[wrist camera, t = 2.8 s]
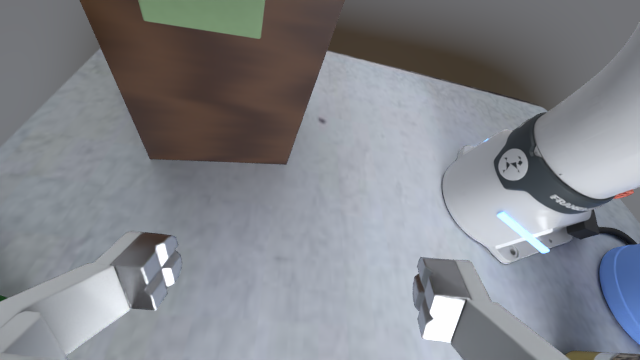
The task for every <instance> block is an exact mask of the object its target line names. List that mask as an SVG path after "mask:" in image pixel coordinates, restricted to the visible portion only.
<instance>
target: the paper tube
mask: <svg viewBox="0 0 640 360" xmlns="http://www.w3.org/2000/svg"><path fill="white" fill-rule="evenodd" d="M565 356H566V357H568V358H569V359H570V360H640V354H627V353H609V352H587V351H571V352H569V353H567V354H566V355H565Z"/></svg>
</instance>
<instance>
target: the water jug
mask: <svg viewBox="0 0 640 360" xmlns="http://www.w3.org/2000/svg"><path fill="white" fill-rule="evenodd" d="M599 273H600V283H601V287H602V291H603V294H604V297H605V299H606V302H607V304H608V306H609V308H610V310H611V312H612V313H613V315H614V317H615V318H616V320H617V321H618V322H619V324H620V325H621V326H622V328H623V329H624V330H625V331H626V332H627V333H628V335H629V336H630V337H631V338H632V339H633V340H635V341H636V342H637V343H638V344H639V345H640V244H635V245H626V246H621V247H616V248H613V249H611V250H610V251H608V252H607V253H606V254H605V255H604V257H603V258H602V261H601V264H600V272H599Z"/></svg>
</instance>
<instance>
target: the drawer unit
mask: <svg viewBox="0 0 640 360" xmlns="http://www.w3.org/2000/svg"><path fill="white" fill-rule="evenodd" d="M344 1H345V0H265V6H264V14H263V23H262V31H261V38H260V39H257V38H250V37H244V36H238V35H231V34H225V33H219V32H212V31H206V30H199V29H193V28H187V27H180V26H174V25H168V24H161V23H155V22H148V21H144V19H143V17H142V13H141V9H140V5H139V2H138V0H80V2H81V4H82V7H83V9H84V11H85V13H86V16H87V18H88V20H89V22H90V25H91V27H92V29H93V31H94V34H95V36H96V38H97V40H98V43H99V45H100V47H101V50H102V52H103V54H104V56H105V59H106V61H107V63H108V65H109V68H110V70H111V72H112V74H113V77H114V79H115V81H116V83H117V86H118V88H119V90H120V92H121V95H122V97H123V99H124V101H125V104H126V106H127V108H128V110H129V113H130V115H131V117H132V119H133V122H134V124H135V126H136V128H137V131H138V133H139V135H140V138H141V140H142V142H143V144H144V147H145V149H146V151H147V153H148V156H149V158H150V159H166V160H190V161H215V162H240V163H264V164H287V161H288V158H289V155H290V152H291V150H292V147H293V144H294V141H295V138H296V136H297V133H298V130H299V127H300V124H301V122H302V119H303V116H304V113H305V111H306V108H307V105H308V102H309V99H310V97H311V94H312V91H313V88H314V85H315V83H316V80H317V77H318V74H319V71H320V69H321V66H322V63H323V60H324V57H325V55H326V52H327V49H328V46H329V43H330V40H331V38H332V35H333V32H334V29H335V26H336V24H337V21H338V18H339V15H340V12H341V9H342V7H343V4H344Z"/></svg>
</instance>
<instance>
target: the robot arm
mask: <svg viewBox="0 0 640 360" xmlns="http://www.w3.org/2000/svg"><path fill="white" fill-rule="evenodd" d="M638 187H640V21H639V23H638V25H637V27H636V29H635V31H634V32H633V34H632V35H631V37H630V38H629V40H628V41H627V43H626V44H625V46H624V47H623V48H622V49H621V51H620V52H619V53H618V54H617V55H616V56H615V58H614V59H613V60H612V61H611V62H610V63H609V64H608V65H607V66H606V67H605V68H604V69H602V70H601V71H600V72H599V73H598V74H597V75H596V76H594V77H593V78H592V79H591V80H589V81H588V82H587V83H586V84H585V85H583V86H582V87H581V88H579V89H578V90H577V91H576V92H574V93H573V94H572V95H570V96H569V97H568V98H566V99H565V100H564V101H562V102H561V103H559V104H558V105H557V106H555V107H554V108H553V109H551V110H550V111H548V112H544V113H540V114H538V115H536V116H534V117H533V118H530V119H528V120H527V121H525V122H524V123H522V124H521V125H520V126H519V127H518V128H516V129H515V130H507V129H505V130H502V131H500V132H498V133H497V134H495V135H493V136H492V137H490V138H488V139H487V140H485V141H483V142H482V143H480V144H479V145H477V146H475V147H474V146H470V145H466V146H464V147H463V148H461V149H460V151H459V154H458V157H457V160H456V161H455V162H454V163H452V164H451V165H450V166H449V167H448V168H447V170H446V172H445V174H444V177H443V183H442V189H443V196H444V200H445V203H446V206H447V208H448V210H449V212H450V214H451V215H452V217H453V219H454V220H455V221H456V223H457V224H458V225H459V226H460V228H461V229H462V230H463V231H464V232H465V233H467V234H468V235H469V236H470V237H471V238H473V239H474V240H476V241H478V242H479V243H481V244H482V245H484V246H485V247H487V248H488V249H489V251H490V252H491V253H492V254H493V255H494V256H495V257H496V258H497V259H498V260H499V261H500V262H501V263H503V264H508V263H511V262H514V261H517V260H519V259H522V258H525V257H528V256H531V255H533V254H536V253H539V252H542V253H546V252H549V249H550V248H553V247H556V246H558V245H561V244H564V243H566V242H569V241H571V240H572V236H574V237H576V238H579V239H583V238H587V237H591V236H594V235H598V234H599V233H610V234H614V235H616V236H618V237H620V238H621V239H623V240H624V241H625V242H627V243H628V244H629V245H635V244H637V243H636V242H635V241H634V240H633V239H632V238H630V237H629V236H628V235H626V234H625V233H623V232H622V231H620V230H617V229H614V228H607V227H598V225H597V221H596V217H595V212H594V209H596V208H598V207H600V206H602V205H604V204H605V203H607V202H609V201H611V200H612V199H616V198H622V197H626V196H629V195H631V194H632V193H634V191H633V190H632V189H635V188H638ZM177 246H178V242H177V238H176V237H175V236H173V235H165V234H156V233H147V232H145V233H144V232H136V231H130V232H127V233H125V234H124V235H123V236H122V237H121V238H120V239H119V240H118V241H117V242H116V243H115V244H113V245H112V246H111V247H110V248H109V249H108V250H107V251H106V252H105V253H104V254H103V255H101V256H100V257H99V258H98V259H97V260H96V261H95V262H94V263H93V264H91V263H87V264H85V265H83V266H81V267H78V268H76V269H74V270H71V271H69V272H67V273H64V274H62V275H60V276H58V277H55V278H53V279H51V280H48V281H46V282H44V283H42V284H39V285H37V286H35V287H32V288H30V289H28V290H26V291H23V292H21V293H19V294H16V295H14V296H12V297H9V298H7V299H5V300H3V301H0V360H68V358H67V356H66V355H67V354H69V353H70V352H72V351H73V350H74V349H76V348H77V347H79V346H80V345H81V344H83V343H84V342H86V341H87V340H88V339H90V338H91V337H93V336H94V335H96V334H97V333H98V332H100V331H101V330H103V329H104V328H105V327H107V326H108V325H110V324H111V323H112V322H114V321H115V320H117V319H118V318H119V317H121V316H122V315H124V314H125V313H126V312H128V311H129V310H130V308H131V309H145V310H157V308H158V307H159V305H160V304H161V302H162V301H163V300H164V298H165V297H166V295H167V294H168V293H167V287H169V286H171V285H172V284H174V283H175V282H176V280H177V279H178V277H179V275H180V272H181V269H182V258H181V255H180V254H179V253H178V252H177V251H176V250H175V249H176V248H177ZM417 268H418V272H419V274H418V275H416V276H415V277H414V282H413V301H414V306H415V307H416V309H417V310H418V311H419V315H418V324H419V328H420V332H421V337H422V339H429V340H436V341H444V342H451V345H452V346H453V347H454V348H455V350H456V351H457V352H458V353H459V355H460V356H461V357H462V358H463V360H570V359H569V358H568V357H566V356H565V355H564V354H562V353H561V352H560V351H559V350H557V349H556V348H555V347H553V346H552V345H551V344H550V343H548V342H547V341H546V340H544V339H543V338H542V337H541V336H539V335H538V334H537V333H535V332H534V331H533V330H532V329H530V328H529V327H528V326H527V325H525V324H524V323H523V322H521V321H520V320H519V319H518V318H516V317H515V316H514V315H512V314H511V313H510V312H509V311H507V310H506V309H505V308H503V307H502V306H501V305H500V304H498V303H495V302H492V301H491V299H490V297H489V295H488V293H487V291H486V289H485V287H484V285H483V283H482V281H481V279H480V278H479V276H478V274H477V272H476V270H475V268H474V266H473V264H472V262H470V261H468V260H449V259H437V258H425V257H420V259H419V261H418V265H417Z"/></svg>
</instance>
